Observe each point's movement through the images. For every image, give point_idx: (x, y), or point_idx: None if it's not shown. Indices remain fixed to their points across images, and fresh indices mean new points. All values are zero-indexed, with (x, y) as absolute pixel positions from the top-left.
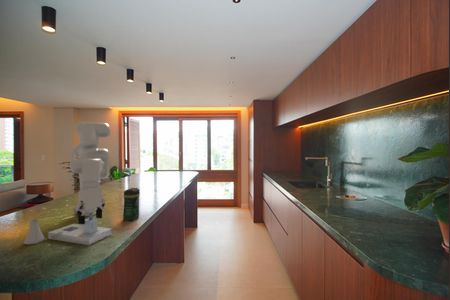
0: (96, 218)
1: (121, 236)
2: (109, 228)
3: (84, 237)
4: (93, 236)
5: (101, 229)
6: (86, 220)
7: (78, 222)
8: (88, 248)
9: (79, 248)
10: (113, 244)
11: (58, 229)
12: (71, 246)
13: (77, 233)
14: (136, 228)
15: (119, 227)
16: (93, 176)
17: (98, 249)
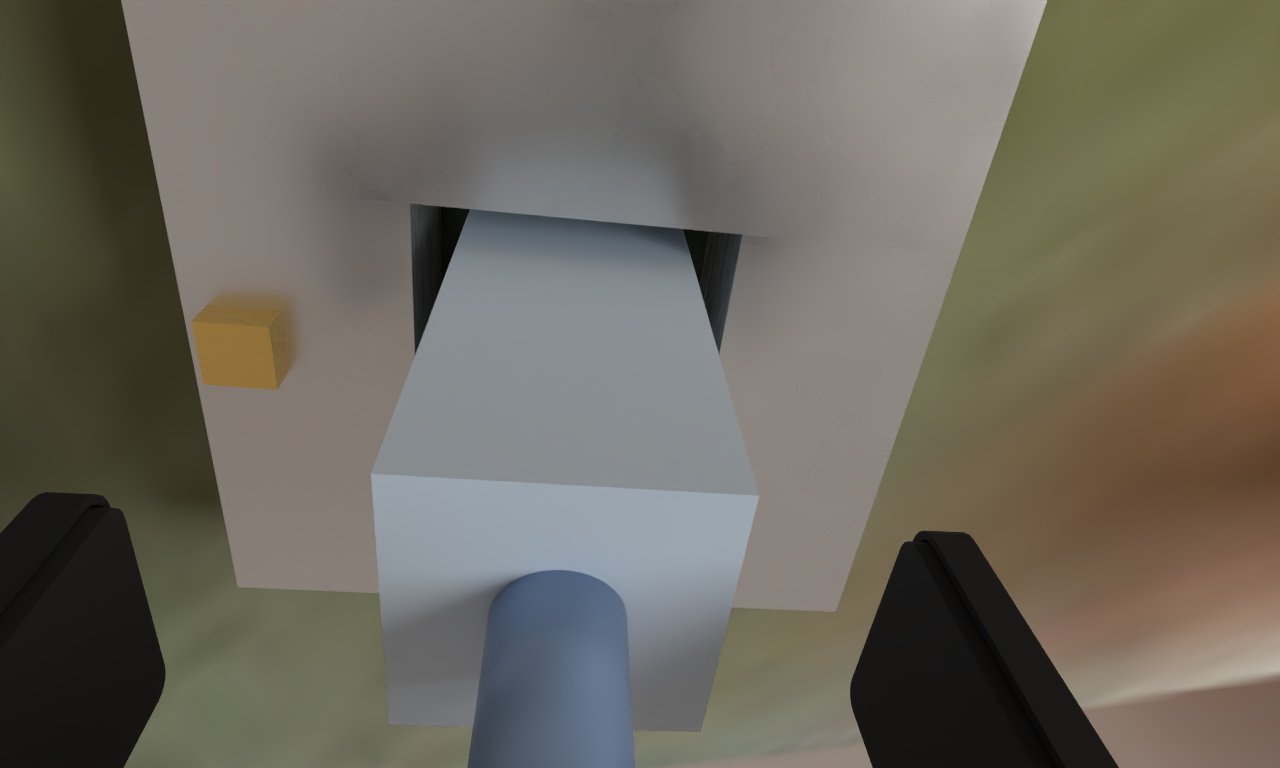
0: (697, 707)
1: (748, 682)
2: (841, 580)
3: (231, 482)
4: (357, 590)
5: (762, 481)
6: (379, 590)
7: (18, 520)
8: (194, 562)
9: (114, 444)
10: (455, 740)
11: None
12: (83, 242)
13: (352, 116)
14: (1108, 688)
15: (1211, 436)
16: None
17: (242, 686)
